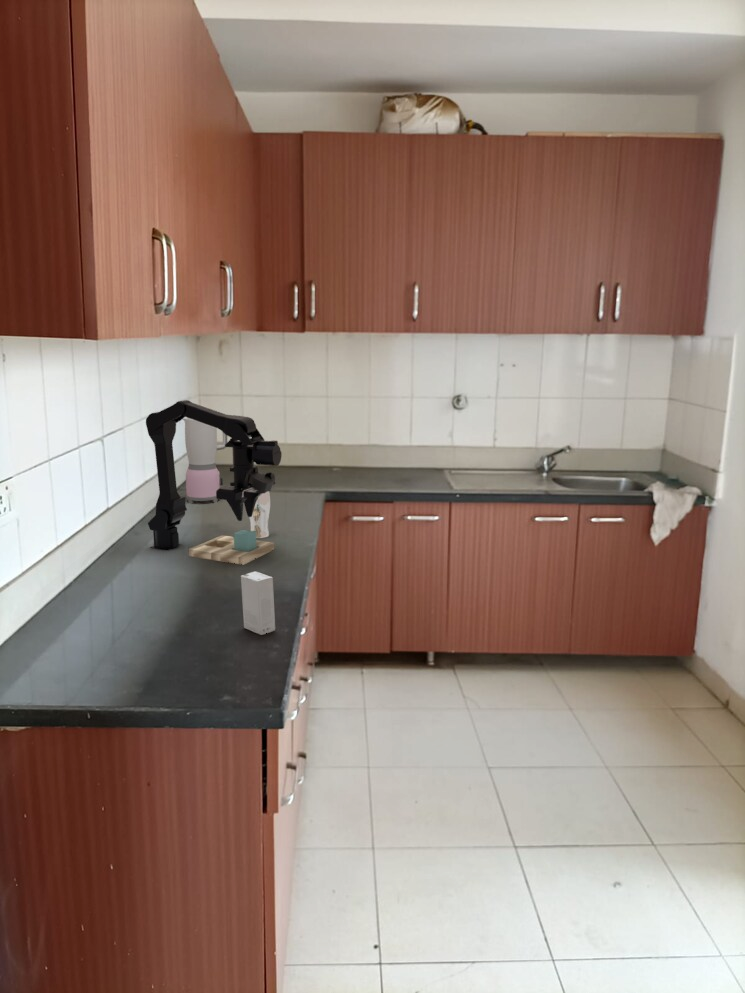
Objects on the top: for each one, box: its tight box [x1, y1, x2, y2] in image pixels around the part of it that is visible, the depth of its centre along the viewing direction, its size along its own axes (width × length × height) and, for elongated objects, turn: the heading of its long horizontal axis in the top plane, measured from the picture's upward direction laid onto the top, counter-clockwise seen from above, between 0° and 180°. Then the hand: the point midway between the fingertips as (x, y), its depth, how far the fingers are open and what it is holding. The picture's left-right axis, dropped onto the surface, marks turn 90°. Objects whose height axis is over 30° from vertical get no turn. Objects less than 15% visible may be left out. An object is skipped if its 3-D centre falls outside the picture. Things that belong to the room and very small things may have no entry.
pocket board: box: [188, 534, 275, 566], centre depth 213 cm, size 18×16×2 cm
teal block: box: [233, 529, 258, 552], centre depth 211 cm, size 4×4×6 cm
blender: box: [181, 417, 228, 504], centre depth 276 cm, size 16×12×32 cm
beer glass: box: [248, 491, 271, 539], centre depth 230 cm, size 7×7×15 cm
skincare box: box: [240, 570, 276, 636], centre depth 160 cm, size 6×4×12 cm
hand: (244, 518), depth 209 cm, fingers open, 5 cm apart
